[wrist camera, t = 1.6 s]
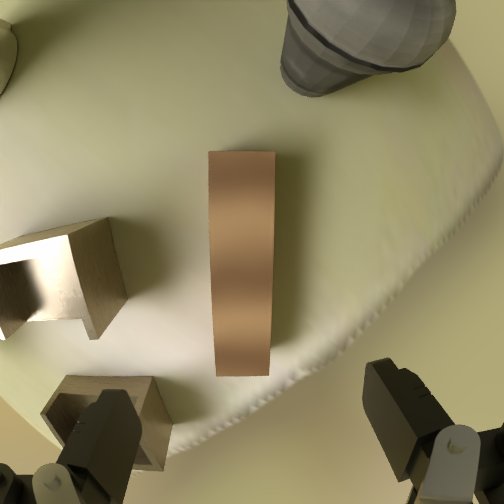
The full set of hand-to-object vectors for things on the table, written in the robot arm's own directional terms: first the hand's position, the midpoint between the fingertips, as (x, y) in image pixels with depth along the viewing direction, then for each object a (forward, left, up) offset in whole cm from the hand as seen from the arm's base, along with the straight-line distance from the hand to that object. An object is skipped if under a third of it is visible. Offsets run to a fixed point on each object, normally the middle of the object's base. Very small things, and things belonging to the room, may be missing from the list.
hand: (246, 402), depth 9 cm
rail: (0, 0, -15) cm, 15 cm away
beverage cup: (-14, +7, -15) cm, 22 cm away
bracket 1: (-2, -15, -15) cm, 21 cm away
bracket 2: (+13, -15, -15) cm, 25 cm away
